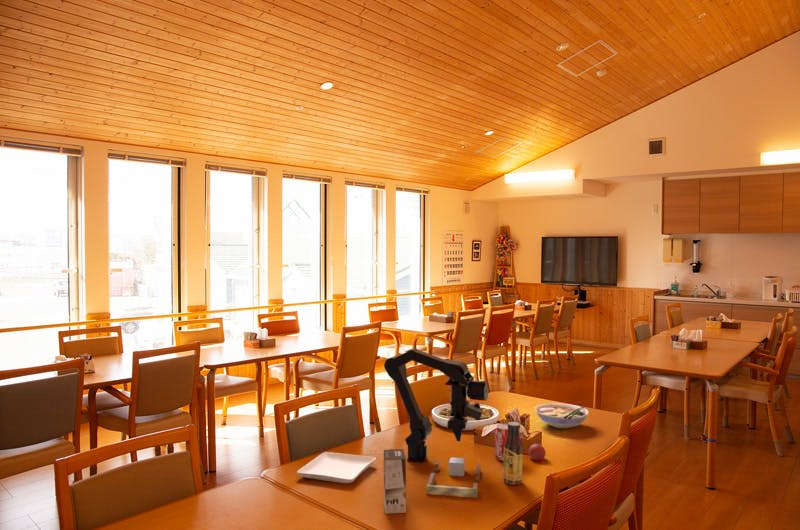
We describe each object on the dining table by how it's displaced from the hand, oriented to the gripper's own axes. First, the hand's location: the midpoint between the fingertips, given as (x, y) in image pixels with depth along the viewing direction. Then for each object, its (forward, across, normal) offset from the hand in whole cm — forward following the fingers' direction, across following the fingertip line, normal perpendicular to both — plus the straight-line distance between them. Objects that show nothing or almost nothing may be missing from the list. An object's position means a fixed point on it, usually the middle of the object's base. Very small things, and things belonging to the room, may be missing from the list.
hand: (458, 441), depth 206 cm
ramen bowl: (+9, +54, -40) cm, 67 cm away
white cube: (+9, -8, 0) cm, 12 cm away
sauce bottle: (+9, -12, -19) cm, 25 cm away
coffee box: (+9, -38, +16) cm, 42 cm away
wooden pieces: (+9, -15, 0) cm, 17 cm away
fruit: (+9, +10, -27) cm, 30 cm away
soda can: (+9, +10, -16) cm, 21 cm away
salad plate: (+10, -15, +41) cm, 44 cm away
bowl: (+9, +54, +2) cm, 54 cm away
